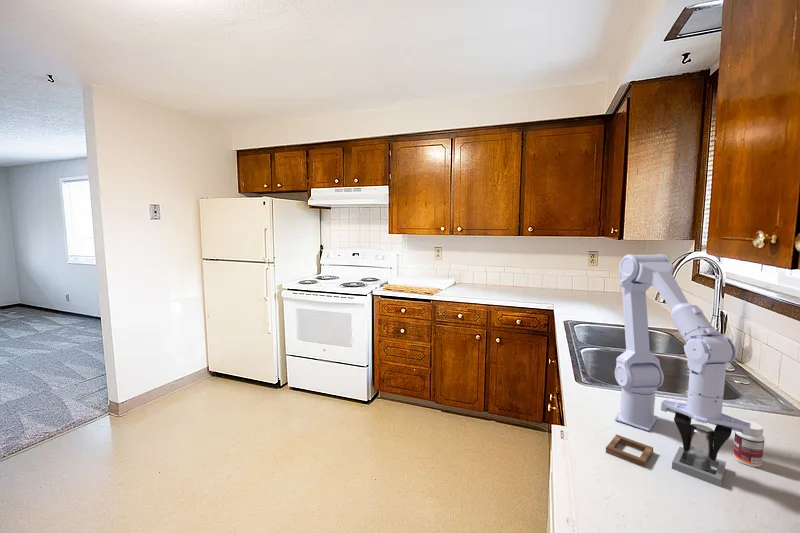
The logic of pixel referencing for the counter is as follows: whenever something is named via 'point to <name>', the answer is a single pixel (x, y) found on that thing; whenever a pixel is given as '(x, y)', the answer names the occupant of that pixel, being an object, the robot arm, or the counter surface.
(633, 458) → the socket frame
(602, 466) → the counter surface
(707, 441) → the grey thick round cylinder
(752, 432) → the pill bottle
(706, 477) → the frame
